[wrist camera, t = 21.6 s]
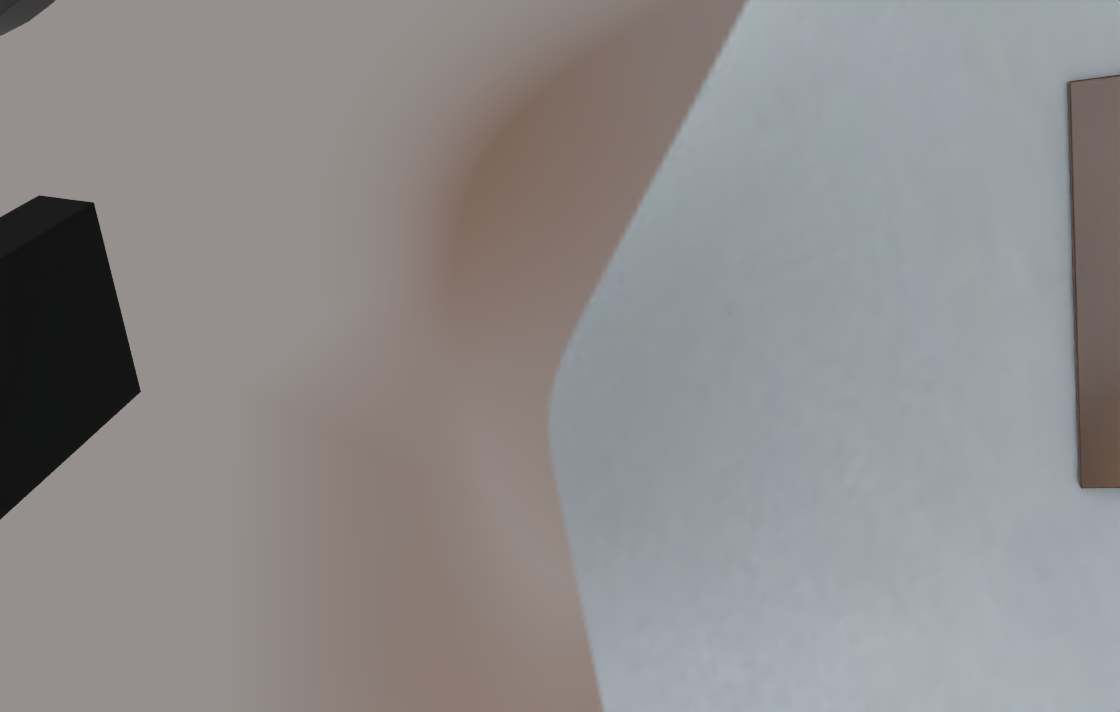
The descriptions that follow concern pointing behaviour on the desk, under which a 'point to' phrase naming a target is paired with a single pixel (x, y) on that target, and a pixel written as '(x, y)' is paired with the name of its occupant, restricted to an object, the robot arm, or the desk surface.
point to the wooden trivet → (1096, 274)
